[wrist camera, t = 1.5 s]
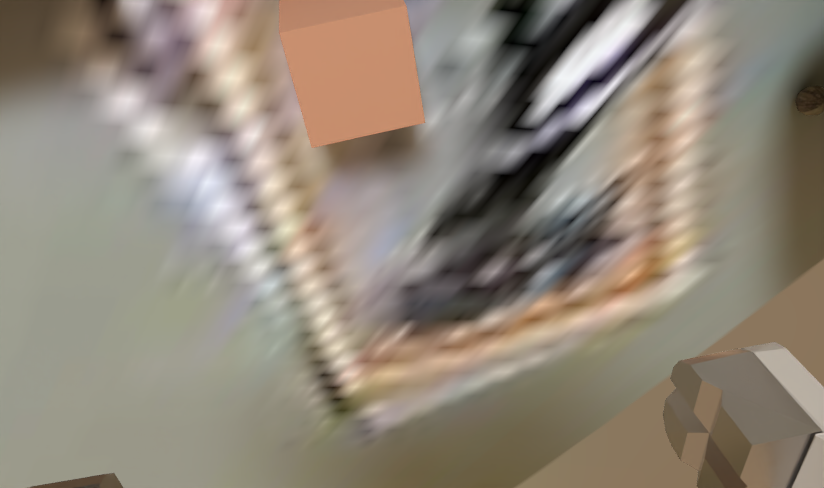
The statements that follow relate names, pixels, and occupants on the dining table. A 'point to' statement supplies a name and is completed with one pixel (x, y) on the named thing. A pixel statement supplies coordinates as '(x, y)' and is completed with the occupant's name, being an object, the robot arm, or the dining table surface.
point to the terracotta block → (351, 66)
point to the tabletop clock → (811, 100)
